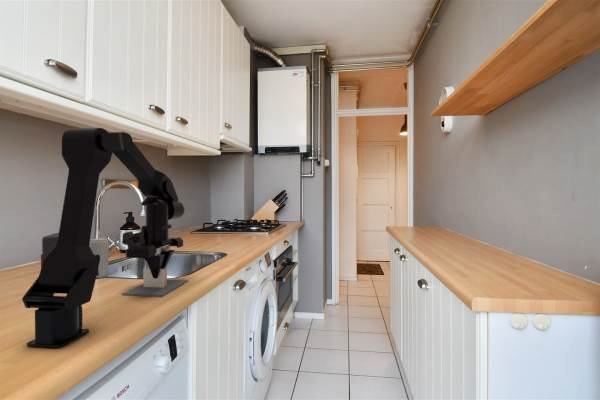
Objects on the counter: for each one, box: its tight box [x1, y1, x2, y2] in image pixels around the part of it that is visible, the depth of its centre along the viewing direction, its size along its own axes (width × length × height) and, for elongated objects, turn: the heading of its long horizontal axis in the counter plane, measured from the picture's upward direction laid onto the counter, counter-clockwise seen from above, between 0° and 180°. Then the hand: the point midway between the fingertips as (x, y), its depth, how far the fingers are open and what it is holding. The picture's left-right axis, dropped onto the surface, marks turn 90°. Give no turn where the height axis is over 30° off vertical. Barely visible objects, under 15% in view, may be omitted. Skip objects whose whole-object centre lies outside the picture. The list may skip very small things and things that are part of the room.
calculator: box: [40, 232, 59, 269], centre depth 86 cm, size 11×4×15 cm, turn 21°
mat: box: [121, 279, 189, 298], centre depth 86 cm, size 14×11×1 cm
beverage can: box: [90, 237, 110, 279], centre depth 98 cm, size 5×5×12 cm
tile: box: [142, 267, 168, 288], centre depth 86 cm, size 2×6×5 cm, turn 84°
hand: (157, 277), depth 86 cm, fingers closed on tile, 2 cm apart
